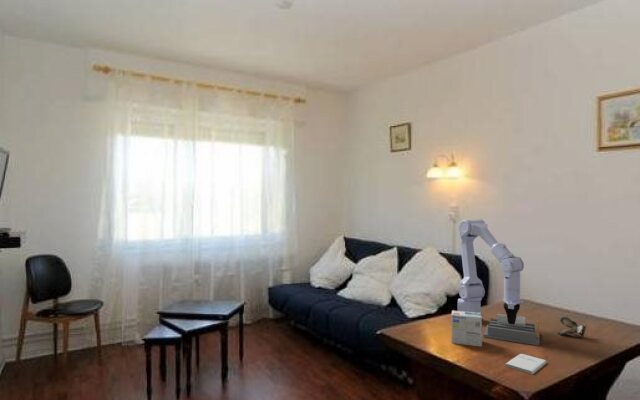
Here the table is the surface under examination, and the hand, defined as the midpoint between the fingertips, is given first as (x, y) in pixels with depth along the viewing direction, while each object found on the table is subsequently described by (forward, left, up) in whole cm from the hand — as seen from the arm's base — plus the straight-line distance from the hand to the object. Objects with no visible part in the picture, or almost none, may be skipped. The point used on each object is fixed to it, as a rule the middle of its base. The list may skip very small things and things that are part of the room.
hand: (511, 323), depth 158 cm
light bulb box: (-15, -16, -5) cm, 22 cm away
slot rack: (0, 0, -5) cm, 5 cm away
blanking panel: (0, 0, -3) cm, 3 cm away
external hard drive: (+5, -28, -6) cm, 29 cm away
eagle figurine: (+21, +12, -5) cm, 24 cm away
